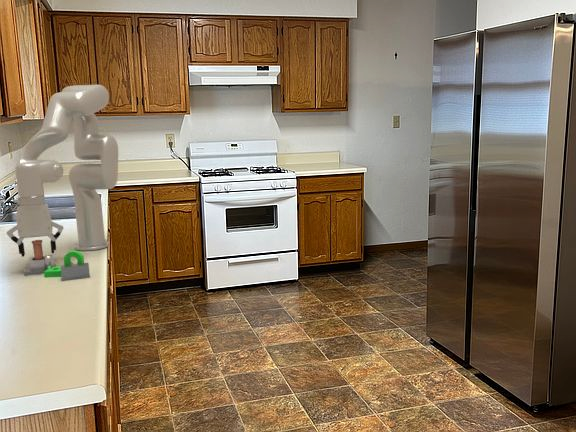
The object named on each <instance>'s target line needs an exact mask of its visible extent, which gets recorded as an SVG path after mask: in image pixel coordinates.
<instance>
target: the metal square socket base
mask: <svg viewBox="0 0 576 432" xmlns="http://www.w3.org/2000/svg"><path fill="white" fill-rule="evenodd" d="M53 260H54V259H53V255H52V254H47V255H43V259H41V260H35V258H34V256H33V257H32V256H31V257H30V258H29V261H28V264H25V267H24V269H23V277H25V276H26V277H28V276H34V275H35V276H36V275H42V274H44V271H46V270H47V269H49V268H52V267H56V261H53Z"/></svg>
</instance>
